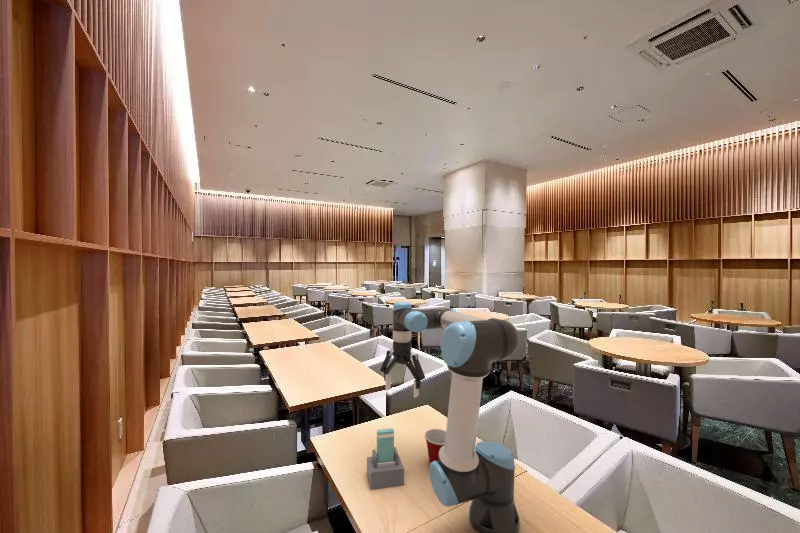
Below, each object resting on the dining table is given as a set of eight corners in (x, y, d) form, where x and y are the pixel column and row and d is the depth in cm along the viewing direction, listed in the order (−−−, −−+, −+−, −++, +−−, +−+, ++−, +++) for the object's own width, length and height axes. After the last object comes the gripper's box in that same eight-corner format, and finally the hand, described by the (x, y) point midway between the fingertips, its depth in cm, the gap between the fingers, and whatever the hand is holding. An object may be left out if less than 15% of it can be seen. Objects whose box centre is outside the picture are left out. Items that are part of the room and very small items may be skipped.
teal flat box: (393, 463, 130) (394, 431, 130) (377, 465, 129) (377, 432, 128) (392, 459, 132) (392, 428, 132) (376, 461, 131) (376, 429, 131)
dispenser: (403, 485, 127) (404, 457, 127) (370, 489, 124) (371, 461, 124) (397, 468, 137) (398, 443, 137) (366, 472, 134) (367, 446, 134)
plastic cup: (441, 477, 132) (441, 445, 132) (418, 465, 139) (418, 435, 139) (457, 464, 140) (457, 434, 140) (434, 454, 147) (435, 425, 147)
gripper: (433, 342, 139) (433, 396, 140) (382, 335, 153) (382, 384, 154) (424, 346, 133) (423, 402, 133) (372, 338, 147) (371, 389, 147)
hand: (401, 392), depth 143 cm, fingers open, 13 cm apart
